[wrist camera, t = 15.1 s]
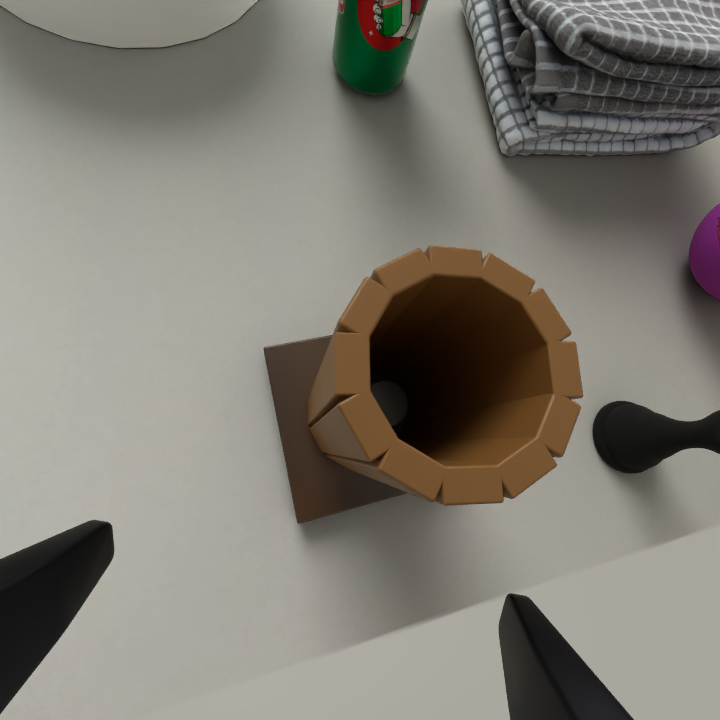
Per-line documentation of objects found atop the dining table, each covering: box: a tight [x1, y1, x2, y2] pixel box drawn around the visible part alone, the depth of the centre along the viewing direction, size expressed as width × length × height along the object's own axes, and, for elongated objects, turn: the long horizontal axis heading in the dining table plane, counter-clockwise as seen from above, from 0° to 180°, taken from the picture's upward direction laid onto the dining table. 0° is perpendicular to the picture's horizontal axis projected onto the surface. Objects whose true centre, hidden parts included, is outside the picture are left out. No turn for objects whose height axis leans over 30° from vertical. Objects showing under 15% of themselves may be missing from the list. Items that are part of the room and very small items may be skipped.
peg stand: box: [264, 335, 408, 524], centre depth 19 cm, size 9×9×6 cm
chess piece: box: [593, 401, 720, 473], centre depth 19 cm, size 4×4×10 cm
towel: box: [461, 0, 720, 157], centre depth 26 cm, size 15×18×8 cm
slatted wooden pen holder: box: [308, 246, 583, 505], centre depth 15 cm, size 6×6×12 cm
